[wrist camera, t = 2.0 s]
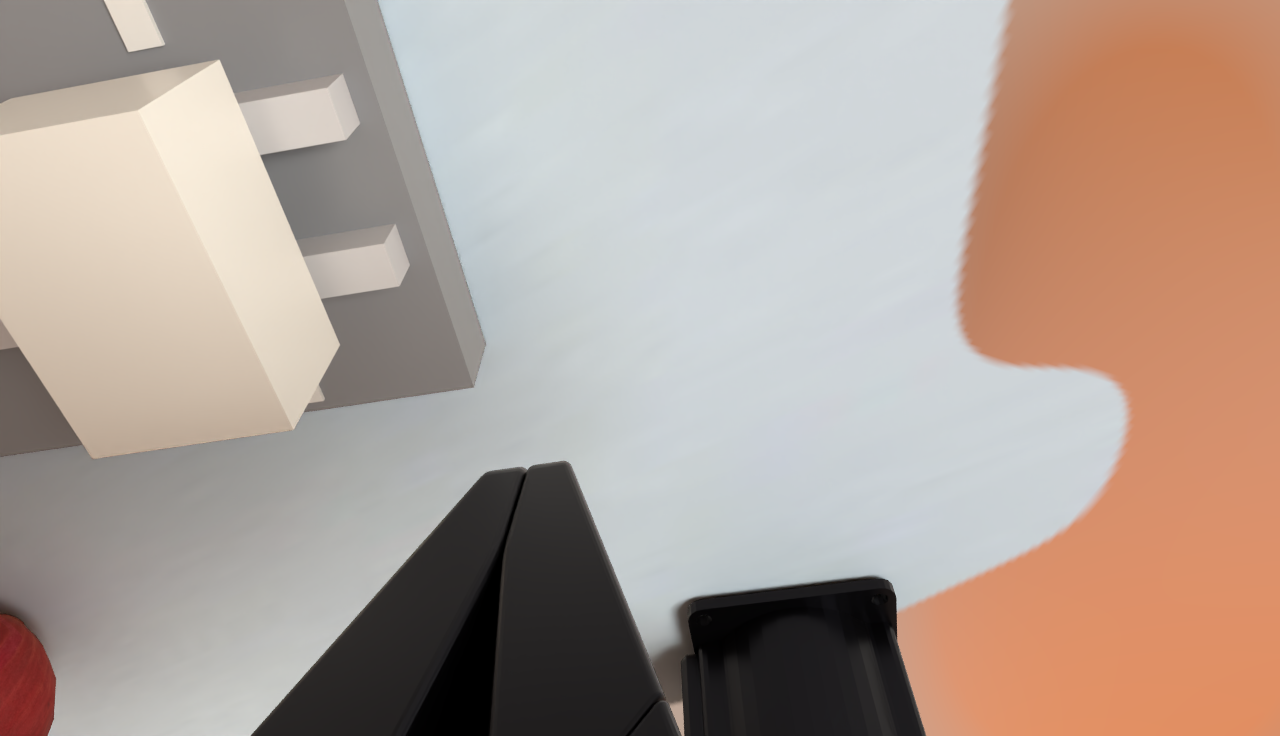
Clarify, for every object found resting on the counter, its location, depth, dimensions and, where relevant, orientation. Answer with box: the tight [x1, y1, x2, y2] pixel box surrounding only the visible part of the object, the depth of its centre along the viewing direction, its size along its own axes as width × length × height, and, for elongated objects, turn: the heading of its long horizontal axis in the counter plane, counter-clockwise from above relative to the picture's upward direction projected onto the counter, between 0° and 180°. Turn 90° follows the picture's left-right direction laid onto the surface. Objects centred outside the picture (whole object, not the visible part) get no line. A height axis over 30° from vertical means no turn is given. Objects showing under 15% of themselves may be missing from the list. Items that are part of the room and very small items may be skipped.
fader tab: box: [0, 60, 340, 459], centre depth 17 cm, size 4×6×4 cm, turn 10°
